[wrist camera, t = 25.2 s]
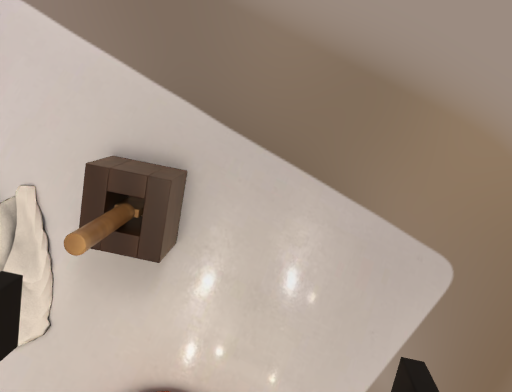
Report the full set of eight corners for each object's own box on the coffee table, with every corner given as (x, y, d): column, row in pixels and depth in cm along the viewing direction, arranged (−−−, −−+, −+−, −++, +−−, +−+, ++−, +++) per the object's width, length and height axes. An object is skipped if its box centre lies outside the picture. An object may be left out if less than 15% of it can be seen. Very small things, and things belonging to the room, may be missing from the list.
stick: (156, 194, 46) (92, 237, 31) (153, 210, 46) (89, 258, 32) (134, 190, 46) (59, 230, 31) (132, 205, 46) (57, 252, 32)
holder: (187, 170, 45) (171, 180, 39) (176, 243, 47) (159, 263, 41) (112, 155, 46) (85, 163, 40) (103, 228, 47) (77, 245, 41)
